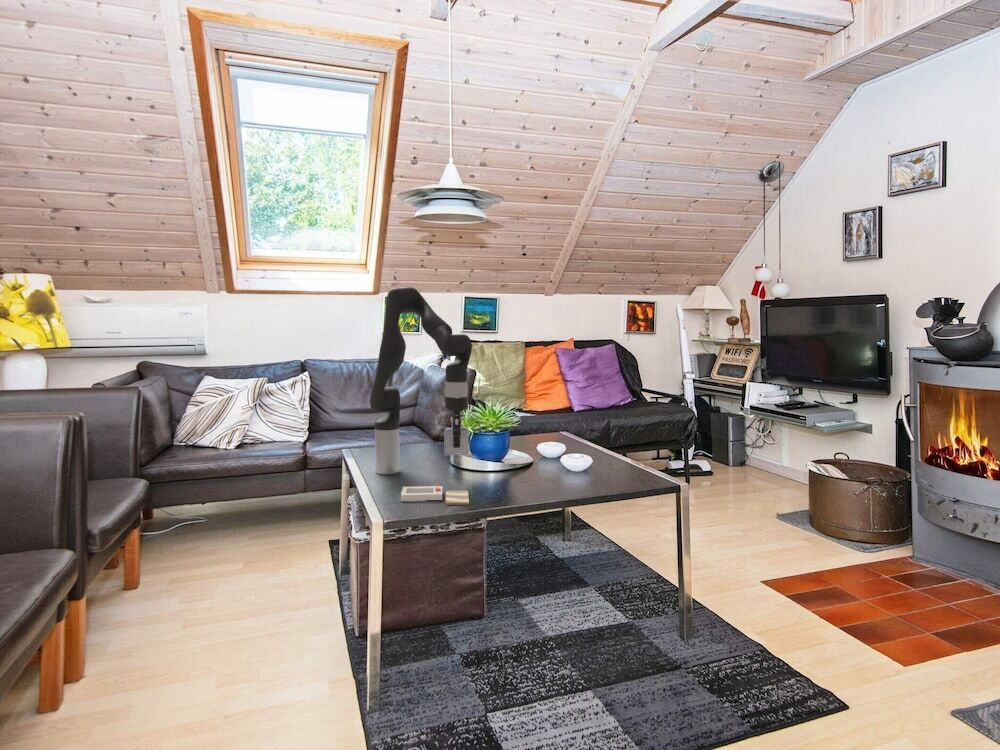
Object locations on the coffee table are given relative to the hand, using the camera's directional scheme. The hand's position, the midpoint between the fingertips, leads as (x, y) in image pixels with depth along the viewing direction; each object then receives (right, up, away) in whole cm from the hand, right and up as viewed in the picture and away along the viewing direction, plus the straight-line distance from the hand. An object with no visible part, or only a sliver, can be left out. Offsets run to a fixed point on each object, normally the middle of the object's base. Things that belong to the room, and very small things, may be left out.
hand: (456, 445), depth 215 cm
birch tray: (0, -18, +2) cm, 18 cm away
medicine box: (0, -3, 0) cm, 3 cm away
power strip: (-12, -17, +8) cm, 23 cm away
